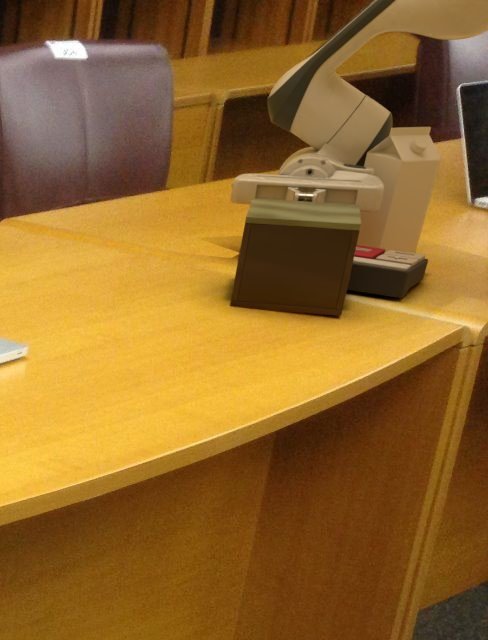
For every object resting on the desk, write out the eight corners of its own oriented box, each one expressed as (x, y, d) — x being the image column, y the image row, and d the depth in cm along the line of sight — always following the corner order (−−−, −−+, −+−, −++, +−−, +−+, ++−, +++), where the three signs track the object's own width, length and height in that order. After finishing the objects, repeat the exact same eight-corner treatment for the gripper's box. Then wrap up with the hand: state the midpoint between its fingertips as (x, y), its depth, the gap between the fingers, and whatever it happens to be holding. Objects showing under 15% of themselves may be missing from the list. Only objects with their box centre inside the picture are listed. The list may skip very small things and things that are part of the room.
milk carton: (340, 254, 234) (373, 124, 225) (378, 252, 236) (412, 123, 227) (374, 265, 228) (410, 131, 219) (413, 263, 230) (449, 130, 221)
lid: (250, 204, 212) (252, 198, 211) (358, 210, 207) (359, 204, 206) (245, 222, 198) (246, 216, 198) (359, 230, 193) (361, 224, 193)
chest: (235, 286, 214) (249, 207, 210) (341, 295, 209) (358, 214, 205) (229, 306, 203) (244, 223, 198) (341, 316, 198) (359, 230, 193)
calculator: (430, 253, 216) (410, 266, 205) (422, 284, 218) (401, 298, 207) (348, 241, 222) (324, 253, 211) (340, 271, 224) (316, 284, 213)
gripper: (236, 160, 231) (231, 173, 220) (385, 168, 223) (388, 181, 212) (228, 203, 234) (223, 218, 222) (375, 212, 226) (377, 228, 215)
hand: (304, 200), depth 217 cm, fingers closed
